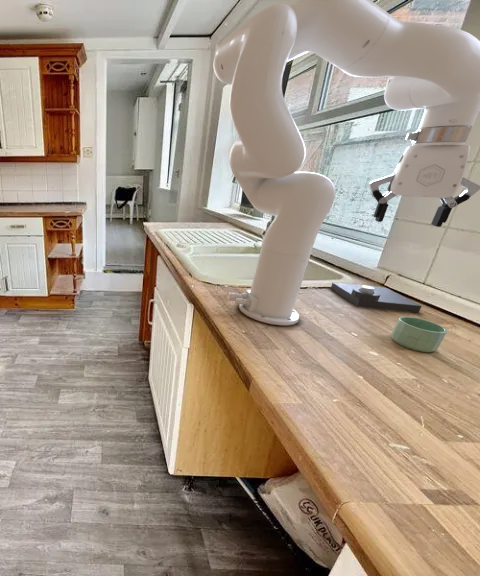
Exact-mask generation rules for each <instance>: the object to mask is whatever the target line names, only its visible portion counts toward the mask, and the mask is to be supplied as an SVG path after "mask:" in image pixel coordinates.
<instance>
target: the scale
mask: <svg viewBox="0 0 480 576" xmlns="http://www.w3.org/2000/svg"><path fill="white" fill-rule="evenodd" d="M362 286H363V285H362V284H353V283H352V284H351V283H342V282H332V283H331V285H330V289H331V291H333V292H335V293H337V294H338V295H340V297H343V298H344V299H346V300H347V301H349V302H350V303H351V304H353V305H354V306H356V307H362V308H372V309H381V310H390V311H400V312H412V313H420V311H421V308H422V305H421V304H419V303H417V302H415V301H413V300H411V299H409V298H407V297H405V296H403V295H402V294H400V293H398V292H395V291H394V290H391V289H390V288H387V287H385V286H376V285H375V286H373V285H369V286H370V287H373V288H375V289H374V292H373V294H368V293H364V292H361V291H360V289H361V287H362Z"/></svg>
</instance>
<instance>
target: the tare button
mask: <svg viewBox="0 0 480 576" xmlns="http://www.w3.org/2000/svg"><path fill="white" fill-rule="evenodd" d="M370 286H371V285H363V286H362V287H361V289H360V291H361V292H364V293H368V294H373V292H374V289H375V288H373V287H370Z"/></svg>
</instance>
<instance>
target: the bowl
mask: <svg viewBox="0 0 480 576" xmlns="http://www.w3.org/2000/svg"><path fill="white" fill-rule="evenodd" d="M447 333H448V329H447V328H446V327H445V326H443V325H441V324H439V323H436V322H433V321H431V320H427V319H425V318H419V317H415V316H407V315H403V316H399V317H398V319H397V321H396V323H395V325H394V327H393V330H392V331H391V333H390V337H391V338H392V340H393V341H394V342H395V343H397V344H398V345H399V346H402V347H404V348H406V349H410V350H413V351H417V352H422V353H432V352H437V351H438V350H439V348H440V346H441V344H442V342H443V340H444V338H445V337H446V335H447Z"/></svg>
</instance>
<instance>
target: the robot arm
mask: <svg viewBox="0 0 480 576" xmlns="http://www.w3.org/2000/svg"><path fill="white" fill-rule="evenodd" d="M308 53H312V54H315V55H316V56H318V57H319V58H321V59H323V60H324V61H326V62H327V63H330V64H331V65H333V66H334V67H336V68H337V69H339V70H341V71H342V72H343V73H344V74H346V75H347V76H351V77H356V78H357V77H358V78H386V77H387V78H388V77H389V78H390V77H393V78H392V79H391V80H390V81H389V82H388V83H387V85H386V87H385V89H384V93H383V99H384V102H385V104H386V106H387V107H388V108H390V109H391V110H394V111H403V112H404V111H411V110H424V112H423V115H422V118H421V121H420V123H419V125H418V129H416V131H412V132H408V133H407V134H406V135H405V140H406V141H411V144H412V145H408V146H407V147H406V148H405V150H404V152H403V154H402V155H401V157H400V159H399V161H398V163H397V165H396V167H395V169H394V172H393V173H392V174H390V175H387V176H384V177H381V178H378V179H374V180H372V181H370V182H369V183H368V186H369V189H370V194H371V196H372V197H373V199H375V200H376V202H377V204H376V208H375V210H374V212H373V218H375V221H376V222H378V223H381V222H383V221H384V218H385V216H386V213H387V210H388V209H389V208H388V207H389V204H388V202H389V201H391V200H392V199H393V198H395V197H397V196H401V197H414V198H415V197H417V198H418V197H419V198H438V199H439V201H440V202H441V205H440V206H438V207H437V209H436V211H435V214H434V216H433V218H432V221H431V223H430V224H431V225H432V226H435V227H436V228H441V227H442V225H443V224H445V223H446V222H447V221H448V219H449V217H450V214H451V212H452V209H454V208H456V207H457V206H459V205H460V204H462V203H464V202H466V201H468V200H470V198H471V197H472V196H474V195H475V194H477V192H478V191H480V184H477V183H475V182H473V181H472V180H470V179H467V178H465V177H464V176H465V175H464V174H465V171H466V170H467V169H466V168H467V165H468V161H469V158H470V153H471V152H470V151H471V145H470V144H468V145H467V144H466V143H467V140H468V138H469V136H470V133H471V131H472V129H473V126H474V125H475V122H476V120H477V117H478V116H479V112H480V40H479V39H478V38H477V37H476V36H474V35H473V34H471V33H469V32H467V31H465V30H462V29H460V28H456V27H453V26H447V25H439V24H438V25H437V24H431V23H424V22H416V21H403V20H400V19H397V18H396V17H394V16H393V15H391V14H390V13H389V12H388V11H386V10H384V8H382V7H380V6H379V5H378V4H377V3H375V2H374V1H372V0H298V1H296V2H295V3H293V4H292V5H288V4H286V3H276V4H272V5H270V6H268V7H265V8H263V9H262V10H260V11H258V12H257V13H255V14H254V15H253V16H252V17H250V18H249V19H248V20H246V21H244V22H243V23H242V24H241V25H240V26H238V27H237V28H236V29H235V30H232V32H231V33H229V34H228V35H227V36H226V37H225V38H224V39H223V40H222V41H221V42H220V43H219V45H218V46H217V48H216V51H215V53H214V56H213V63H212V64H213V71H214V74H215V76H216V78H217V79H218V81H220V82H221V83H222V84H226V85H229V86H231V87H230V93H229V102H228V103H229V104H228V106H229V107H228V109H229V115H230V119H231V122H232V124H233V127H234V129H235V131H236V133H237V136H238V137H237V139H236V140H235V141H234V143H233V145H232V146H231V148H230V152H229V165H230V169H231V172H232V174H233V176H234V178H235V179H236V181H237V183H238V184H239V186H240V188H241V189H242V191H243V193H244V194H245V196H246V198H247V200H248V202H249V203H250V204H251V205H252V206H253V208H255V210H256V211H258V212H260V213H262V214H265V215H268V216H272V217H274V219H273V220H272V222H271V223H270V225H269V226H268V227H267V229H266V231H265V233H264V236H263V238H262V241H261V246H260V251H259V255H258V259H257V263H256V267H255V271H254V275H253V279H252V283H251V287H250V289H246V290H245V292H241V293H236V292H227V296H226V301H233V302H234V304H235V305H238V308H239V311H240V312H241V313H242V314H244V315H245V316H247V317H249V318H251V319H252V320H256V321H258V322H261V323H265V324H269V325H275V326H292V325H295V324H297V323H298V322H299V320H300V314H299V313H298V312H297V311H296V309H295V305H296V302H297V299H298V296H299V293H300V290H301V286H302V283H303V280H304V277H305V274H306V271H307V267H308V263H309V261H310V257H311V255H312V251H313V248H314V245H315V242H316V239H317V236H318V234H319V231H320V229H321V227H322V225H323V223H324V221H325V220H326V217H327V215H328V214H329V212H330V210H331V208H332V207H333V204H334V202H335V198H336V188H335V185H334V183H333V181H332V180H331V179H330V178H329V177H327V176H326V175H323V174H322V173H321V174H320V173H317V172H310V171H298V170H299V169H301V167H302V166H303V164H304V162H305V160H306V155H307V151H306V146H305V142H304V140H303V138H302V135H301V132H300V130H299V129H298V126H297V124H296V122H295V121H294V118H293V116H292V113H291V112H290V109H289V108H288V105H287V102H286V100H285V97H284V93H283V77H284V72H285V69H286V65H287V63H288V62H291V61H292V60H295V59H297V58H299V57H301V56H304V55H306V54H308ZM384 184H388V185H387V189H386V190H387V191H386V192H385V193H383V194H382V192H381V191H380V186H381V185H384ZM460 187H462V188H464V191H463V192H462V193H461V194H459V195H457V196H455V195H456V194H457V193H458V190H459V188H460ZM454 196H455V197H454Z"/></svg>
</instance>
